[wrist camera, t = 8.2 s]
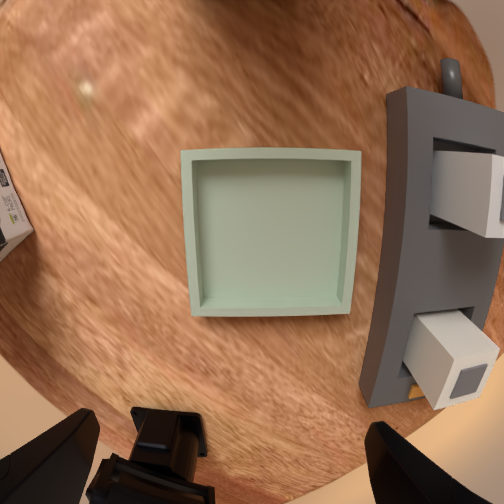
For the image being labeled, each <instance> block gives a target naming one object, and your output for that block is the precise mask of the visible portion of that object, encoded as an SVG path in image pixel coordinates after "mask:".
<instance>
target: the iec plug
mask: <svg viewBox="0 0 504 504" xmlns="http://www.w3.org/2000/svg"><path fill="white" fill-rule="evenodd" d="M499 351H500V348H499V347H498V346H497V345H496V344H495V343H494V342H493V341H492V340H491V339H490V338H488V337H487V336H486V335H485V334H484V333H483V332H482V331H481V330H480V329H479V328H478V327H477V326H476V325H475V324H473V323H472V322H471V321H470V320H469V319H468V318H467V317H466V316H465V315H464V314H462V313H461V312H460V311H459V310H458V309H448V310H439V311H430V312H420V313H414V317H413V321H412V326H411V330H410V334H409V338H408V342H407V346H406V350H405V353H404V357H403V361H404V363H405V365H406V366H407V368H408V369H409V371H410V372H411V374H412V376H413V377H414V379H415V380H416V382H417V384H418V385H419V387H420V389H421V390H422V392H423V393H424V395H425V397H426V398H427V400H428V402H429V403H430V405H431V407H432V408H433V410H437V409H441V408H444V407H448V406H452V405H455V404H459V403H462V402H466V401H469V400H472V399H475V398H478V397H479V396H480V394H481V392H482V390H483V388H484V386H485V384H486V381H487V379H488V377H489V375H490V373H491V370H492V368H493V366H494V363H495V361H496V358H497V356H498V353H499Z"/></svg>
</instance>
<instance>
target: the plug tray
mask: <svg viewBox="0 0 504 504" xmlns="http://www.w3.org/2000/svg"><path fill="white" fill-rule="evenodd" d="M181 178H182V201H183V219H184V235H185V249H186V262H187V274H188V286H189V296H190V306H191V316H217V317H257V316H305V315H331V314H350V309H351V301H352V292H353V284H354V274H355V264H356V253H357V241H358V228H359V211H360V190H361V151H355V150H339V149H318V148H216V149H195V150H181Z"/></svg>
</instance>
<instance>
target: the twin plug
mask: <svg viewBox="0 0 504 504" xmlns="http://www.w3.org/2000/svg"><path fill="white" fill-rule="evenodd" d="M430 214H432V215H434V216H436V217H439V218H441V219H444V220H446V221H449V222H451V223H453V224H456V225H458V226H460V227H463V228H465V229H467V230H469V231H472V232H474V233H476V234H478V235H481V236H483V237H485V238H504V157H502V156H498V155H494V154H484V153H471V152H455V151H433V173H432V192H431V205H430Z"/></svg>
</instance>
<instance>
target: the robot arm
mask: <svg viewBox="0 0 504 504" xmlns="http://www.w3.org/2000/svg"><path fill="white" fill-rule="evenodd" d="M130 413H131V416H132V418H133V421H134V424H135V426H136V429H137V432H138V435H137V437H136V440H135V443H134V446H133V448H132V451H131V454H130V457H129V460H126V459H124V458H121V457H119V455H116V454H114V453H112V455H111V457H110V459H102V461H101V464H100V466H99V468H98V471H97V473H96V475H95V477H94V478H93V480H92V482H91V483H90V485H89V487H88V488H87V491H86V494H85V495H86V496H87V498H88V500H89V504H215V491H214V487H211V486H204V485H200V484H196V483H193V480H194V474H195V468H196V462H197V457H206V456H207V453H208V451H207V446H206V441H205V435H204V430H203V424H202V419H201V415H200V414H198V413H192V412H179V411H168V410H158V409H149V408H141V407H132V409H131V411H130ZM99 433H100V426H99V423H98V421H97V418H96V416H95V413H94V411H93V410H90V409H86V408H81V409H79V410H77V411H76V412H74V413H73V414H71V415H70V416H68V417H67V418H65V419H64V420H62V421H61V422H59V423H58V424H56V425H55V426H53V427H51V428H50V429H48V430H47V431H45V432H44V433H42V434H41V435H39V436H38V437H36V438H34V439H33V440H31V441H30V442H28V443H27V444H25V445H23V446H22V447H20V448H19V449H17V450H16V451H14V452H12V453H11V454H10V455H7V456H6V457H4V458H3V459H1V460H0V504H79V502H80V499H81V496H82V493H83V490H84V487H85V484H86V481H87V478H88V475H89V473H90V470H91V467H92V463H93V458H94V453H95V450H96V445H97V441H98V437H99ZM364 443H365V450H366V457H367V464H368V471H369V477H370V483H371V487H372V491H373V495H374V498H375V502H376V504H492V503H490V502H489V501H487V500H485V499H483V498H482V497H480V496H478V495H477V494H475V493H473V492H472V491H470V490H469V489H467V488H466V487H465V486H463V485H462V484H460V483H459V482H458V481H457V480H455V479H454V478H452V476H450V475H449V474H448V473H446V472H445V471H444V470H443V469H441V468H440V467H439V466H438V465H436V464H435V463H434V462H433V461H431V460H430V459H429V458H427V457H426V456H425V455H424V454H423V453H421V452H420V451H419V450H418V449H417V448H415V447H414V446H413V445H412V444H411V443H409V442H408V441H407V440H406V439H405V438H403V437H402V436H401V435H400V434H399V433H397V432H396V431H395V430H394V429H393V428H391V427H390V426H389V425H388V424H387V423H385V422H384V421H379V422H373V423H371V425H370V427H369V429H368V432H367V434H366V437H365V441H364Z"/></svg>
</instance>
